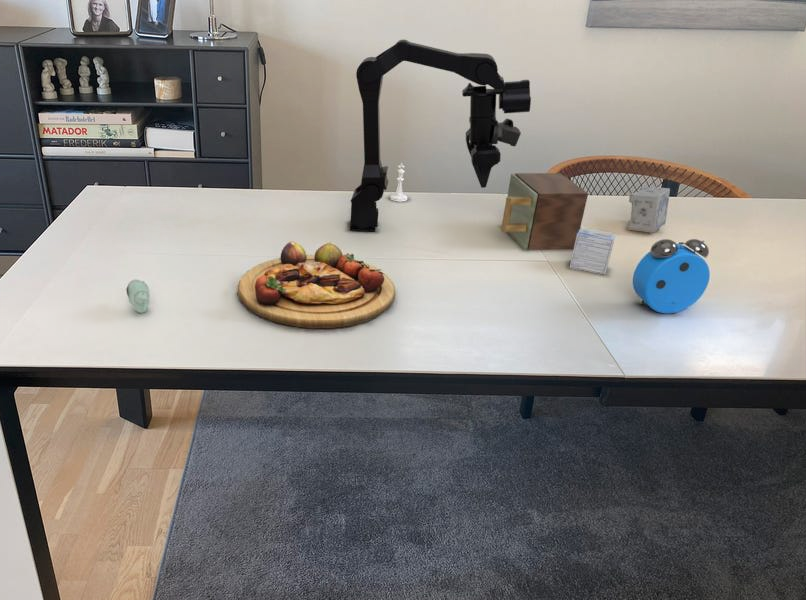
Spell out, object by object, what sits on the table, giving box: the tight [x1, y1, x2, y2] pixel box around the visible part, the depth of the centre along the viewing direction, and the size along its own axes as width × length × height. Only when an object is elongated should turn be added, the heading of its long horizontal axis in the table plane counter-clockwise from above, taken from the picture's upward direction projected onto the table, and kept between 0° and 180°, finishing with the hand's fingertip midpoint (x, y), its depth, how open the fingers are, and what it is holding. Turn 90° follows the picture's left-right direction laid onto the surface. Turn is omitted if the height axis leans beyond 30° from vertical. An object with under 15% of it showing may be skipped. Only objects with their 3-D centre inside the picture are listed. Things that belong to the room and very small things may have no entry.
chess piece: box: [389, 162, 408, 203], centre depth 195 cm, size 5×5×10 cm
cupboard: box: [514, 172, 589, 251], centre depth 173 cm, size 12×16×14 cm
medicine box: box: [569, 226, 616, 275], centre depth 158 cm, size 8×4×9 cm, turn 65°
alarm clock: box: [632, 238, 711, 315], centre depth 140 cm, size 13×6×15 cm, turn 97°
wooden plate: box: [237, 240, 396, 329], centre depth 142 cm, size 32×32×8 cm
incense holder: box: [627, 186, 671, 233], centre depth 182 cm, size 10×8×10 cm
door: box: [500, 173, 538, 251], centre depth 171 cm, size 7×16×14 cm, turn 8°
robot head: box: [126, 279, 150, 314], centre depth 132 cm, size 8×4×7 cm, turn 17°
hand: (481, 180), depth 169 cm, fingers open, 9 cm apart
